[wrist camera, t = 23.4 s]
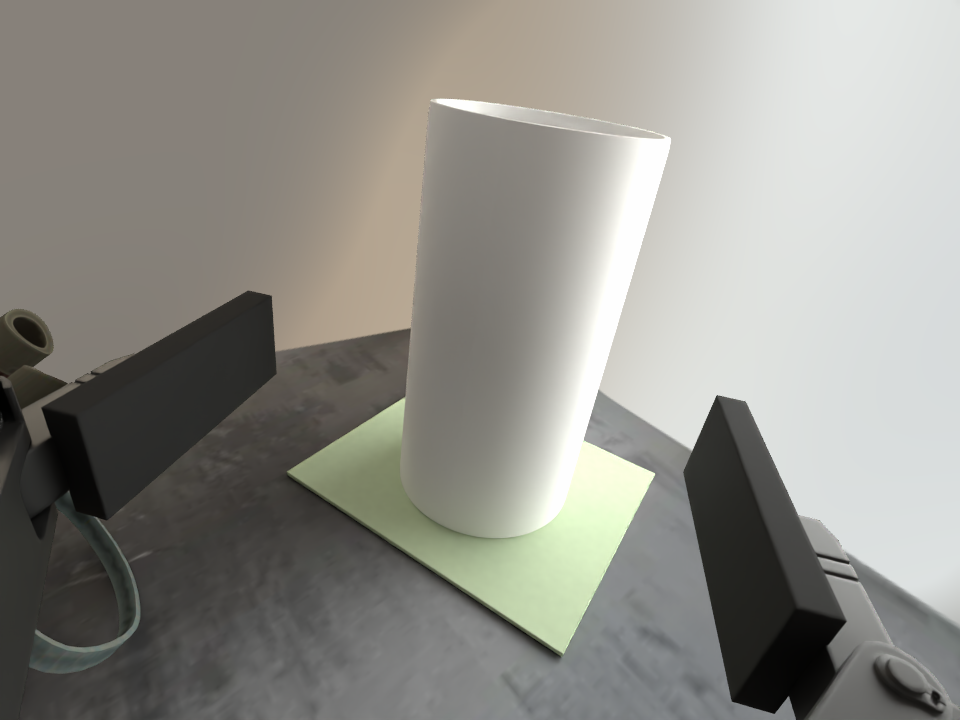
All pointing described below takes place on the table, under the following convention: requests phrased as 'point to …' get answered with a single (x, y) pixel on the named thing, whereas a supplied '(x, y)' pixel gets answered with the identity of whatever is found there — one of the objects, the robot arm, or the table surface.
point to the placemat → (489, 561)
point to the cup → (516, 304)
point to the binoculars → (64, 497)
